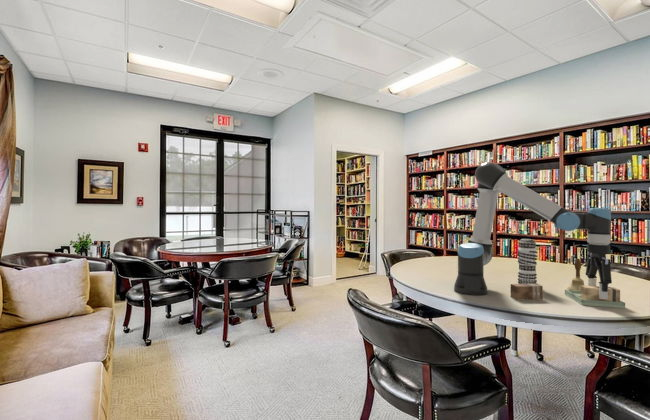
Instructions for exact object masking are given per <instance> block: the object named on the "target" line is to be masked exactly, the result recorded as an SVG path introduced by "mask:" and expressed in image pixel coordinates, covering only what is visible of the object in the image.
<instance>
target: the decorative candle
mask: <svg viewBox="0 0 650 420" xmlns="http://www.w3.org/2000/svg"><path fill="white" fill-rule="evenodd" d="M516 253H517V256H518V257H517V264H518V272H517V274H518V275H517V277H518V278H517V280H518V281H517V284H538V283H537V281H538V280H537V275H538V274H537V269H536V268H537V266H538V264H537V263H538V262H537V261H536V260H538V258H537V257H538V255H537V254H538V251H537V242H536V241H535V239H533V238H532V239H531V238H520V240H519V241H518V250H517V251H516Z"/></svg>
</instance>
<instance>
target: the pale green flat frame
mask: <svg viewBox="0 0 650 420" xmlns="http://www.w3.org/2000/svg"><path fill="white" fill-rule="evenodd" d="M564 295H565V296H567V297H568V298H570V299H572V300H573V301H575V302H577V303H578V304H580V305H582V306H591V307H592V306H595V307H603V308H604V307H606V308H618V309H626V302H624V301H622V300H620V302H613V301H599V300H585V299H582V298H581V291H577V290H569V289H564Z"/></svg>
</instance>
